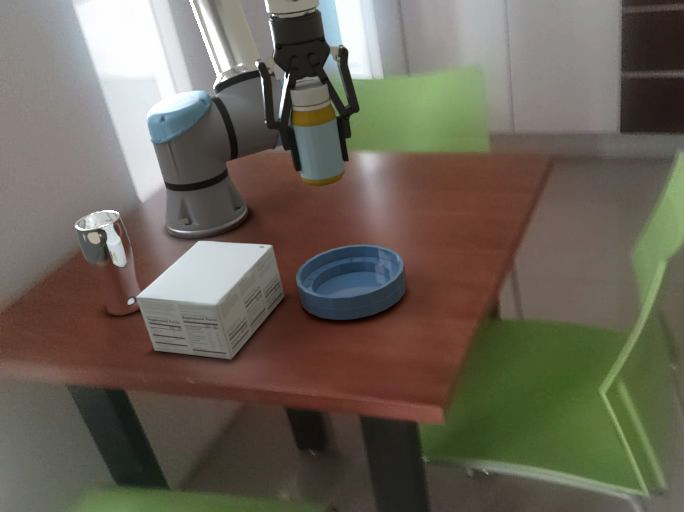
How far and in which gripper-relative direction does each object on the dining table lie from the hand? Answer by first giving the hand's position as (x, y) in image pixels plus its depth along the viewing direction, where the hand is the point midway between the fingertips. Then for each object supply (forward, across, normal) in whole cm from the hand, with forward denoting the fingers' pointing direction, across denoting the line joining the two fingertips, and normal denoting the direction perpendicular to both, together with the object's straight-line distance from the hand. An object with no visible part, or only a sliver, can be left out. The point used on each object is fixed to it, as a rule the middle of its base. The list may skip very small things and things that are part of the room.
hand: (321, 163), depth 124 cm
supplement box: (+16, -21, -14) cm, 30 cm away
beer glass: (+16, -35, -2) cm, 38 cm away
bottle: (+3, 0, 0) cm, 3 cm away
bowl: (+16, 0, -15) cm, 22 cm away
